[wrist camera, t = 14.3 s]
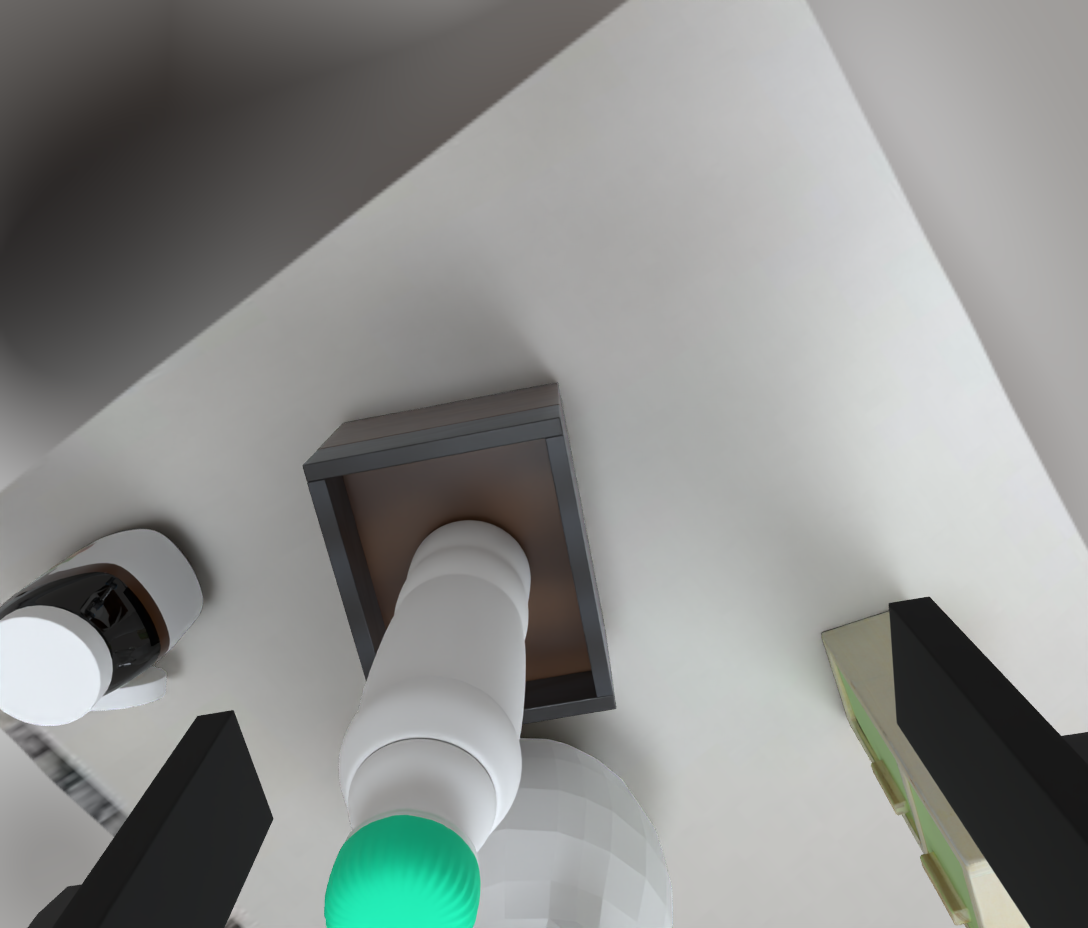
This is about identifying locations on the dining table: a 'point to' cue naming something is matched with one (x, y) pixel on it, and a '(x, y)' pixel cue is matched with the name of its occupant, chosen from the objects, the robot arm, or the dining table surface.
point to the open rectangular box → (469, 494)
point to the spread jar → (96, 629)
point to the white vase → (572, 850)
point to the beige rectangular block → (913, 778)
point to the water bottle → (435, 736)
